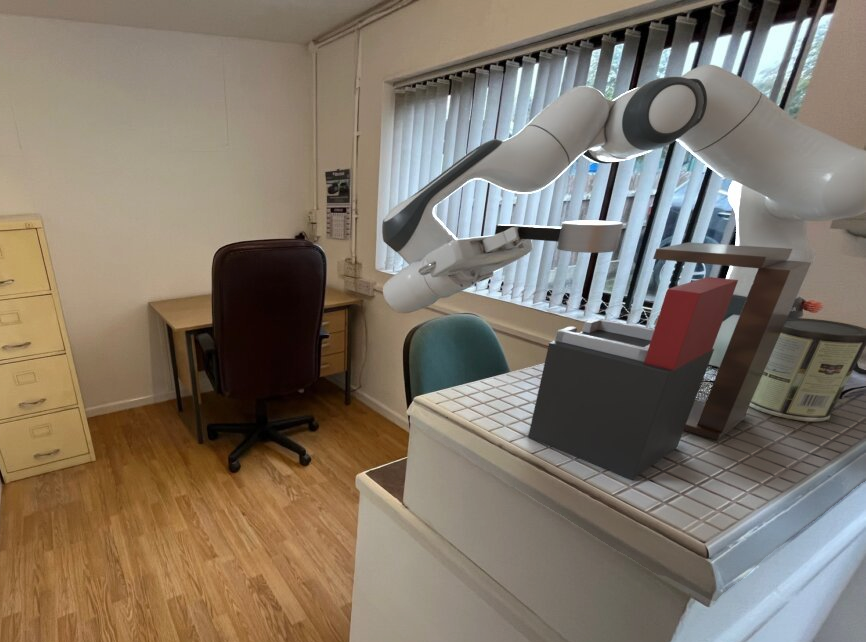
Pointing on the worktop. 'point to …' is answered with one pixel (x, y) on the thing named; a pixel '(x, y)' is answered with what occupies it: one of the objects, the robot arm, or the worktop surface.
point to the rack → (743, 327)
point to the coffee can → (809, 369)
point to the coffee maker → (630, 380)
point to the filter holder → (574, 235)
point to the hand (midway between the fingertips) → (524, 230)
